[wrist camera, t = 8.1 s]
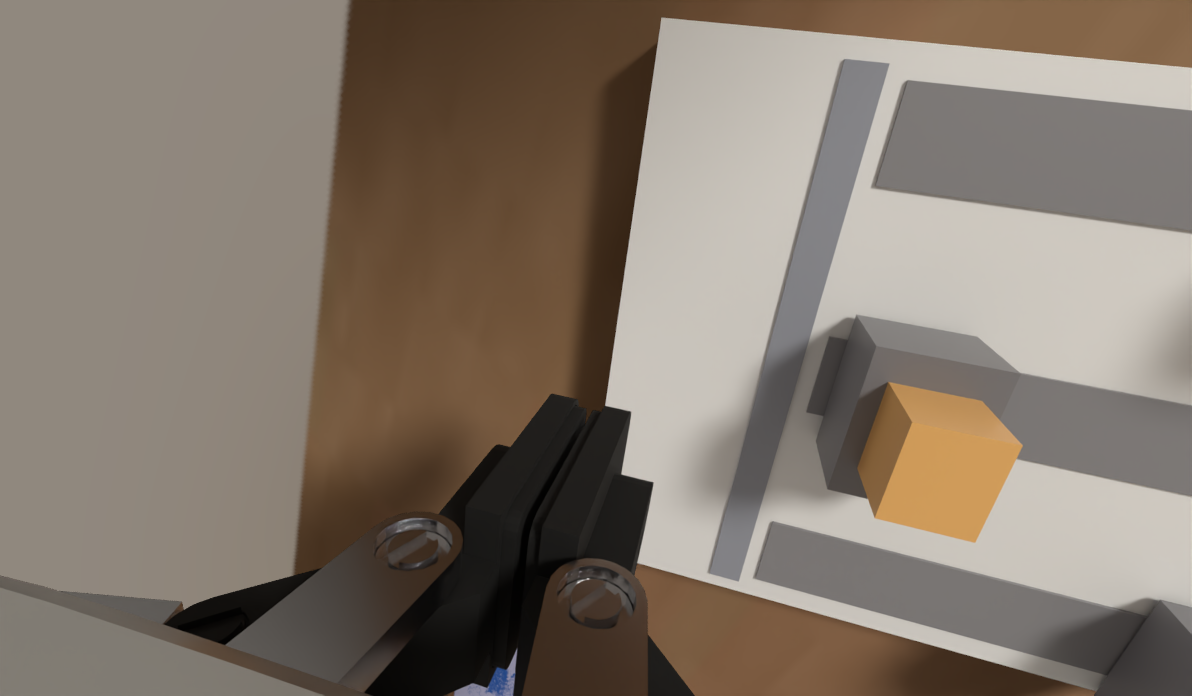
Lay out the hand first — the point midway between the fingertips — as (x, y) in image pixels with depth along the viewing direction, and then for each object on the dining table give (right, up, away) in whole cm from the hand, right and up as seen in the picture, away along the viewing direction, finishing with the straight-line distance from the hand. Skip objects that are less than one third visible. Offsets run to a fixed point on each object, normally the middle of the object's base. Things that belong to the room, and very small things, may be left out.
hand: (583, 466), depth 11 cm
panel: (+14, +1, +5) cm, 15 cm away
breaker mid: (+8, +1, +4) cm, 9 cm away
